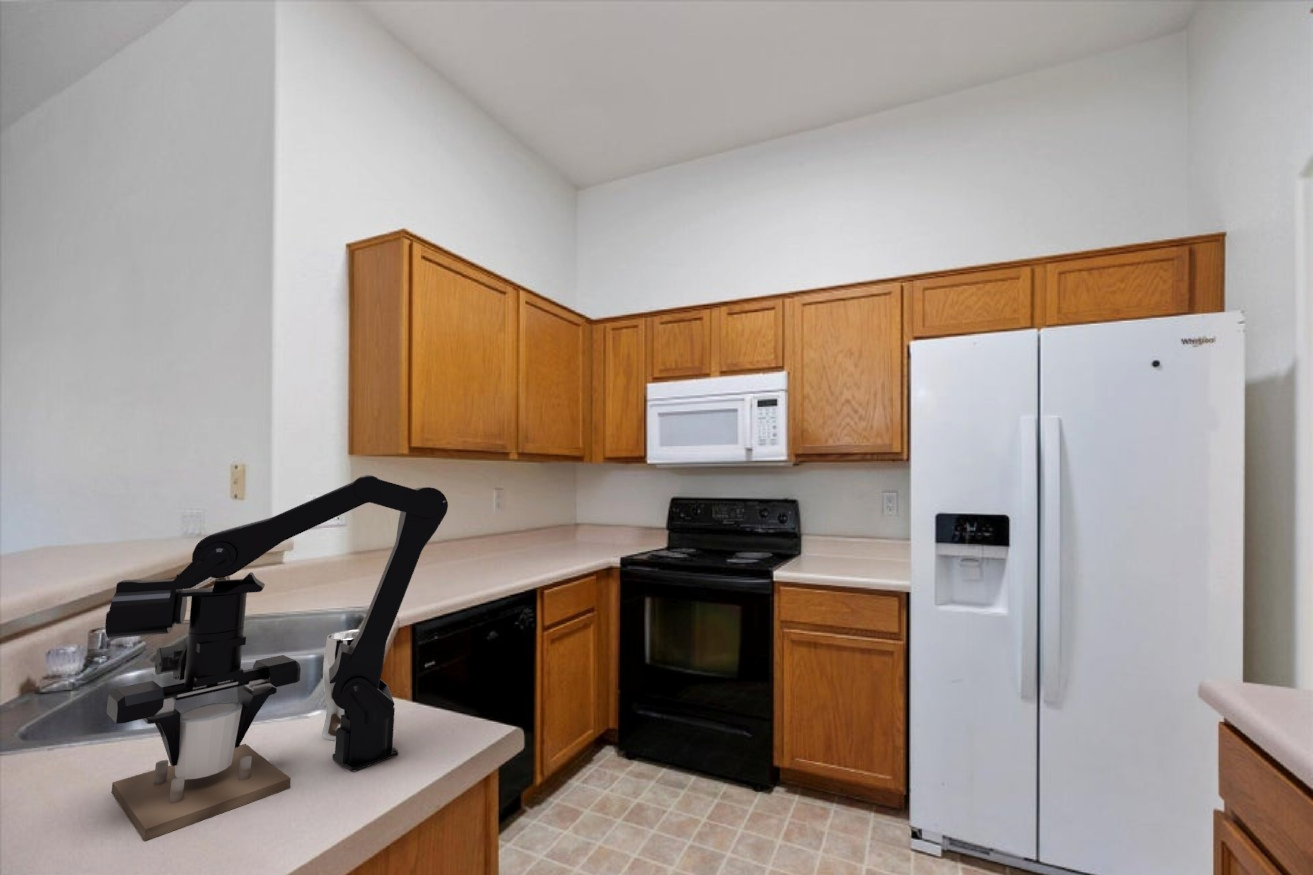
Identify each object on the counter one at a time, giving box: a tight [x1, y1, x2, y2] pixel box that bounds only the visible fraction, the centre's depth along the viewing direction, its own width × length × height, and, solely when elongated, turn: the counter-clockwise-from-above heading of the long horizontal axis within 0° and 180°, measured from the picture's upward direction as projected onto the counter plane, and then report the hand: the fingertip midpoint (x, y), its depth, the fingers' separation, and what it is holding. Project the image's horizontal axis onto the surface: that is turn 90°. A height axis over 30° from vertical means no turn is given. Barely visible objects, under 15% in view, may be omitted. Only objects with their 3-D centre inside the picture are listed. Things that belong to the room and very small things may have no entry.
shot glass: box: [175, 701, 242, 779], centre depth 71 cm, size 7×7×7 cm
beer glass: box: [321, 629, 360, 741], centre depth 89 cm, size 7×7×15 cm
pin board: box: [111, 743, 292, 842], centre depth 71 cm, size 14×16×4 cm
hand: (205, 755), depth 71 cm, fingers closed on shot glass, 6 cm apart
